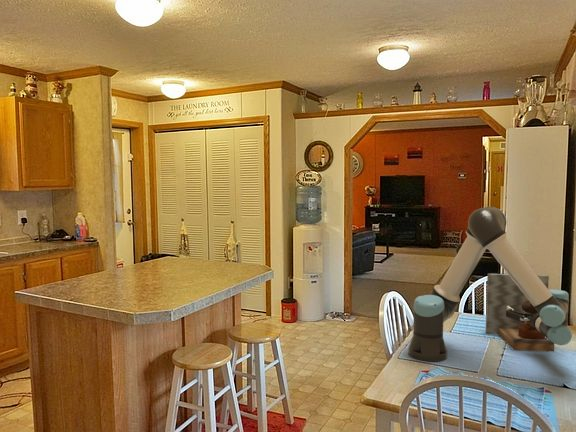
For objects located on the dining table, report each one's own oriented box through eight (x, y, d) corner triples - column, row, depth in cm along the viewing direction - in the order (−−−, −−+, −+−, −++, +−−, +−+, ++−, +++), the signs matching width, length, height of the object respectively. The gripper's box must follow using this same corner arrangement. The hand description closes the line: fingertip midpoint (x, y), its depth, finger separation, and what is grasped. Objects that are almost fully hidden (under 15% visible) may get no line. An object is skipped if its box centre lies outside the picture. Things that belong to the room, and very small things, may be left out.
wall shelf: (501, 349, 197) (503, 283, 195) (485, 332, 219) (487, 273, 217) (566, 352, 194) (570, 285, 192) (544, 335, 216) (546, 275, 214)
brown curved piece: (545, 342, 195) (543, 295, 194) (516, 339, 201) (514, 294, 200) (548, 330, 208) (546, 286, 206) (520, 328, 214) (518, 285, 212)
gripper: (511, 332, 187) (494, 316, 208) (577, 334, 185) (553, 318, 206) (511, 313, 187) (494, 300, 208) (578, 315, 184) (554, 302, 205)
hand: (523, 309), depth 207 cm, fingers open, 13 cm apart
